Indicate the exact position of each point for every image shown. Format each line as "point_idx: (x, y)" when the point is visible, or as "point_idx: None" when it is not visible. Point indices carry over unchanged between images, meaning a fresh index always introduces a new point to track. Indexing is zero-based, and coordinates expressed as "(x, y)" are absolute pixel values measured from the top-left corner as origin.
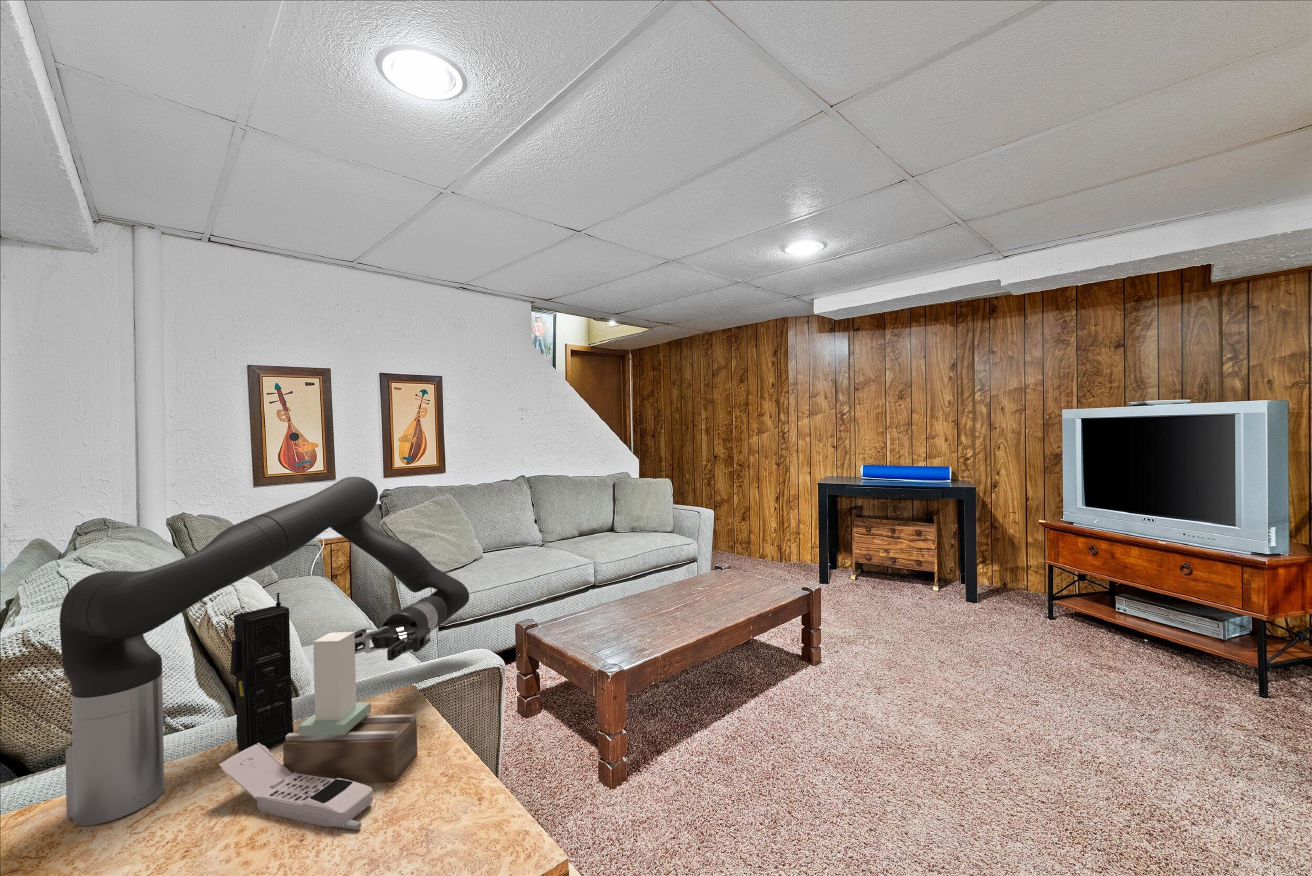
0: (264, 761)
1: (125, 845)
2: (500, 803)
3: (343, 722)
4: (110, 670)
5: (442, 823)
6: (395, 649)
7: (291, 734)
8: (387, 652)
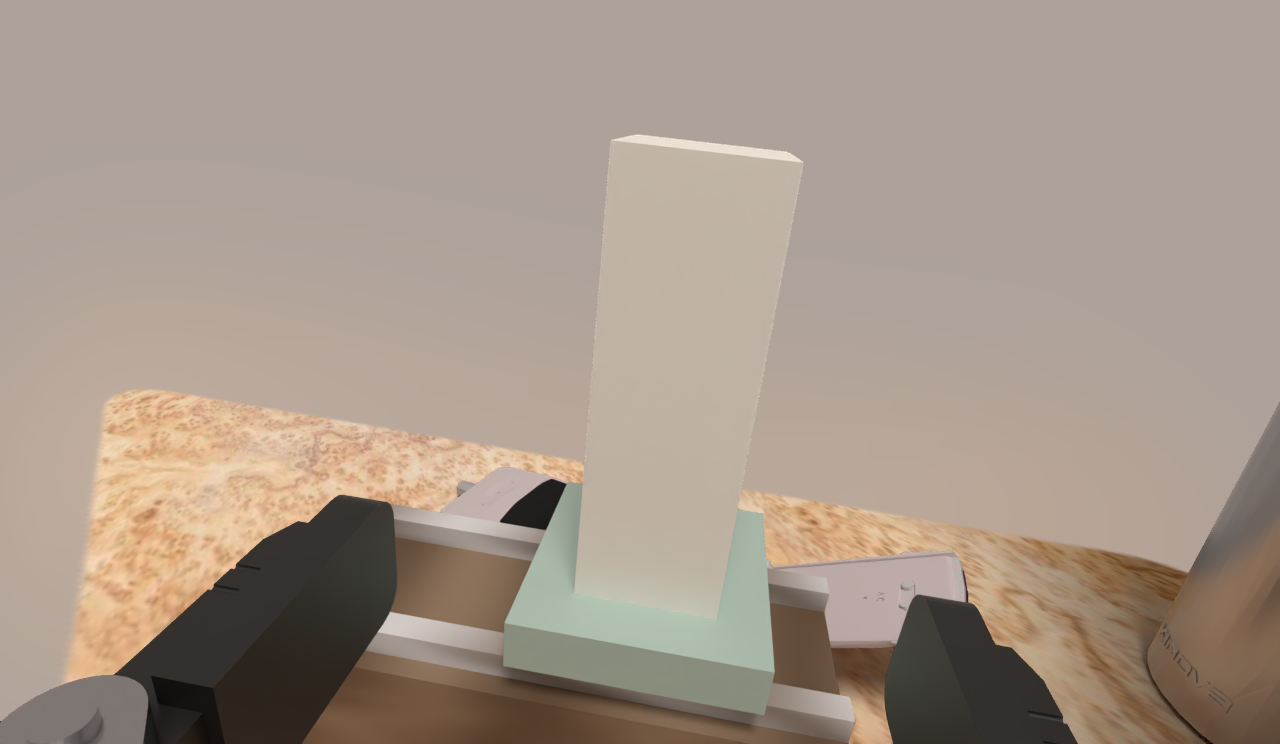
0: (860, 620)
1: (981, 561)
2: (108, 493)
3: (578, 494)
4: None
5: (273, 475)
6: (301, 522)
7: (810, 584)
8: (391, 523)
